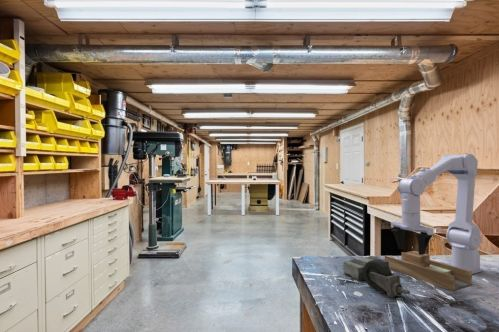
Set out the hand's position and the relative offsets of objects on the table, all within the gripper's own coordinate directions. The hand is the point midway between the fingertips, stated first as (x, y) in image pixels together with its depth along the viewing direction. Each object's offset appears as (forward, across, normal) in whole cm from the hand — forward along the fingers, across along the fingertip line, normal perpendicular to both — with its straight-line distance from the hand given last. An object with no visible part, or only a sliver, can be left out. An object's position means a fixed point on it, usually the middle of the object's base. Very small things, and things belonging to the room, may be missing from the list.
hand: (411, 251), depth 103 cm
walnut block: (+7, -3, +8) cm, 10 cm away
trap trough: (+10, 0, +8) cm, 12 cm away
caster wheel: (+10, +3, -18) cm, 20 cm away
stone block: (+10, -11, -10) cm, 18 cm away
